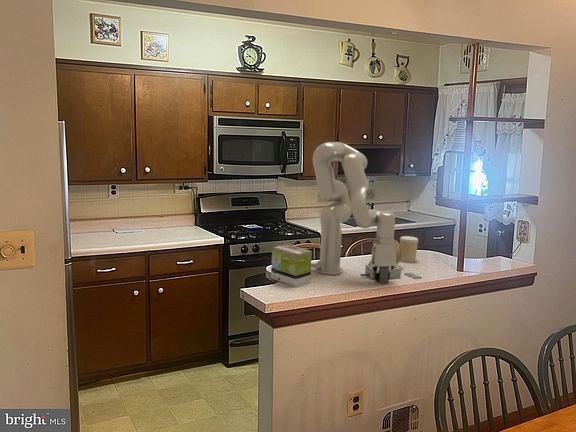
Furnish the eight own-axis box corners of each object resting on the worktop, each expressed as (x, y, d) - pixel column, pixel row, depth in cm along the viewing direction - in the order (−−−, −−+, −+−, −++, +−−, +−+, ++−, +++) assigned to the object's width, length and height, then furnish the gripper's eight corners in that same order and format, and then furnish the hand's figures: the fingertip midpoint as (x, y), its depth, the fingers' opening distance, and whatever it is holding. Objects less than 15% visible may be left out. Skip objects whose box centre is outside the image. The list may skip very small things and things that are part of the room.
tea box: (270, 279, 236) (271, 246, 234) (285, 275, 244) (287, 243, 241) (295, 287, 226) (297, 253, 224) (311, 283, 234) (312, 249, 231)
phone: (414, 280, 246) (414, 278, 246) (403, 275, 253) (403, 273, 253) (421, 279, 248) (421, 277, 248) (410, 274, 255) (410, 272, 255)
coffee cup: (419, 260, 280) (421, 237, 278) (413, 264, 272) (414, 240, 270) (401, 257, 285) (403, 235, 283) (395, 260, 277) (397, 238, 275)
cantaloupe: (364, 265, 266) (366, 235, 264) (385, 261, 275) (387, 232, 272) (386, 272, 255) (389, 241, 252) (407, 268, 263) (409, 238, 261)
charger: (379, 283, 237) (380, 267, 235) (375, 280, 240) (376, 265, 239) (387, 283, 238) (388, 267, 237) (383, 280, 242) (384, 265, 240)
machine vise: (364, 280, 241) (365, 269, 240) (357, 275, 248) (357, 264, 247) (400, 278, 246) (401, 267, 245) (392, 273, 254) (392, 262, 253)
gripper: (371, 242, 230) (368, 284, 233) (406, 241, 235) (402, 282, 238) (363, 238, 237) (360, 279, 240) (397, 237, 242) (394, 277, 245)
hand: (381, 280), depth 239 cm, fingers closed on charger, 4 cm apart
